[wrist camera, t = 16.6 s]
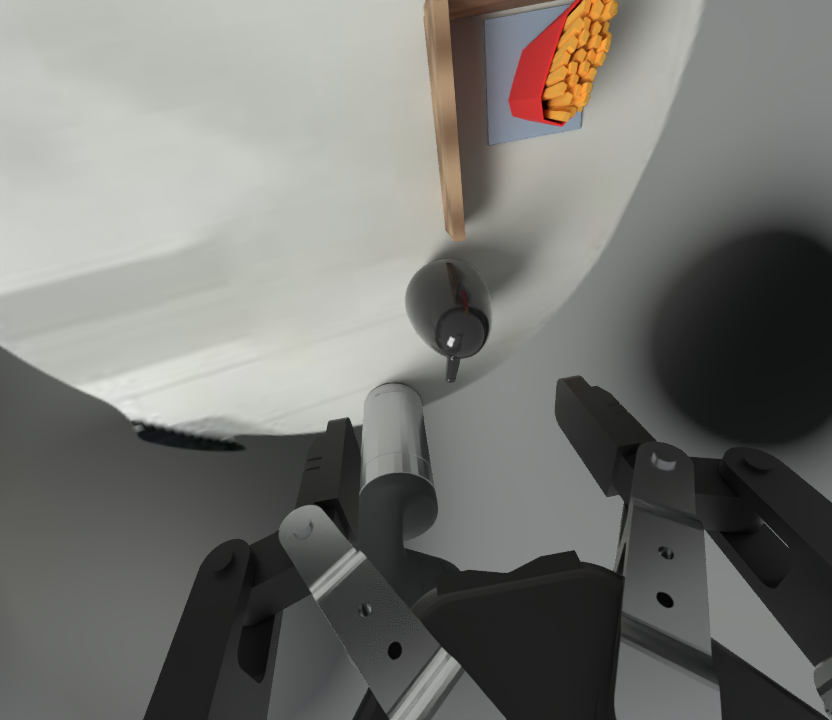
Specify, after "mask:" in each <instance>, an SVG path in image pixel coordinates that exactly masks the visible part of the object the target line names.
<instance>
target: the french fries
mask: <svg viewBox="0 0 832 720" xmlns="http://www.w3.org/2000/svg"><path fill="white" fill-rule="evenodd" d="M617 9H618V3H617V2H616V1H615V0H575V1H574V2H573V3H572V4H571V5H570V6H569V7H568V8H567V9H566V10H565V11H564V12H563V13H562V14H560V15H559V16H558V17H557V18H556V19H555V20H554V21H553V22H552V23H551V24H550V25H549V26H548V27H547V28H546V29H545V30H543V31H542V32H541V33H540V34H539V35H538V36H537V37H536V38H535V39H534V40H533V41H532V42H531V43H530V44H529V45H528V46H527V47H526V48H524V49H523V50H522V53H521V56H520V59H519V63H518V66H517V69H516V73H515V76H514V80H513V83H512V87H511V91H510V95H509V99H508V102H509V106H510V110H511V113H512V116H514V117H517V118H521V119H524V120H528V121H533V122H538V123H543V124H549V125H554V126H560V127H562V126H563V125H564V124H565V123H566V122H568V120H569V119H570V118H571V117H574V116H575V113H576V112H582V109H583V106H585V105H587V103H588V101H589V98H590V95H589V94H590V92H591V90H592V88H593V85H592V82H593V81H594V77H595V75H596V73H597V71H596V70H597V67H599V66H602V65H603V63H604V60H605V58H606V53H607V52H608V51H609V48H610V44H611V38H612V34H611V33H610V32H608V30H609V25H610V23H609V20H610V19H612V18H613V17H614V16H615V15H616V14H617Z"/></svg>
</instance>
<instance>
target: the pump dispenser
mask: <svg viewBox="0 0 832 720" xmlns="http://www.w3.org/2000/svg"><path fill="white" fill-rule="evenodd" d="M405 307H406V312H407V315H408V318H409V320H410V322H411V324H412V326H413V328H414V330H415V331H416V333H417V334H418V335H419V337H420V338H421V339H422V340H423V341H424V342H425V343H426V344H427V345H428V346H429V347H430V348H431V349H433V350H434V351H435V352H437V353H439V354H441V355H443V356H445V357H447V364H446V376H445V380H446V381H447V382H450V383H453V382H455V379H456V375H457V371H458V367H459V363H460V359H464V358H468V357H471V356H474V355H475V354H477V353H478V352H479V351H480V350H481V349H482V348H483V347H484V345H485V344H486V342H487V340H488V338H489V335H490V332H491V327H492V304H491V298H490V294H489V291H488V288H487V285H486V283H485V281H484V279H483V277H482V276H481V275H480V273H479V272H478V271H477V270H476V269H475V268H474V267H473V266H471V265H470V264H468V263H466V262H464V261H461V260H457V259H441V260H437V261H434V262H431V263H429V264H427V265H425V266H424V267H422V268H421V269H420V270H419V271H418V272H417V273H416V274H415V275H414V276H413V278H412V279H411V281H410V283H409V285H408V287H407V290H406V295H405Z"/></svg>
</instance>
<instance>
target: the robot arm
mask: <svg viewBox="0 0 832 720" xmlns="http://www.w3.org/2000/svg"><path fill="white" fill-rule="evenodd" d="M555 416H556V420H557V422H558V425H559V426H560V428H561V429H562V431H563V432H564V434H565V435H566V437H567V438H568V440H569V441H570V443H571V444H572V446H573V447H574V449H575V450H576V452H577V453H578V455H579V456H580V458H581V459H582V461H583V462H584V464H585V465H586V467H587V468H588V470H589V471H590V473H591V474H592V476H593V477H594V479H595V480H596V482H597V483H598V485H599V486H600V488H601V489H602V491H603V492H604V494H605V495H606V497H610V496H615V495H620V496H621V498H622V499H623V501H624V503H623V507H622V515H621V522H620V529H619V537H618V544H617V551H616V558H615V563H614V568H613V571H611V570H609V569H607V568H604V567H602V566H599V565H595V564H592V563H587V562H580V560H579V558H578V556H577V554H576V552H575V551H574V550H573V551H567V552H562V553H557V554H552V555H546V556H541V557H539V558H537V559H535V560H533V561H531V562H529V563H527V564H525V565H523V566H521V567H519V568H517V569H515V570H514V571H511V572H509V573H499V572H487V571H476V570H466V571H460V570H459V569H458V568H457V567H456V566H455V565H454V564H452V563H450V562H448V561H446V560H444V559H441V558H438V557H434V556H431V555H427V554H424V553H420V552H417V551H413V550H410V549H406V548H404V545H403V541H406V540H410V539H413V538H416V537H418V536H420V535H421V534H423V533H424V532H426V531H427V530H428V529H429V528H430V527H431V526H432V525H433V524H434V522H435V520H436V518H437V514H438V505H437V498H436V492H435V485H434V479H433V473H432V467H431V461H430V455H429V449H428V442H427V436H426V429H425V423H424V416H423V410H422V404H421V399H420V397H419V395H418V394H417V393H416V391H414V390H413V389H412V388H410V387H408V386H406V385H403V384H396V383H392V384H385V385H381V386H379V387H377V388H375V389H374V390H373V391H371V392H370V394H369V395H368V396H367V398H366V400H365V404H364V418H363V434H362V449H361V454H360V448H359V445H358V442H357V439H356V436H355V433H354V430H353V427H352V424H351V421H350V419H349V418H348V417H347V418H342V419H336V420H331V421H329V422H328V425H327V430H326V435H325V436H320V437H316V439H315V440H314V442H313V443H312V444H311V446H310V448H309V450H308V455H307V459H306V461H307V462H306V463H305V467H304V472H303V476H302V481H301V485H300V490H299V494H298V498H297V503H296V507H295V510H294V511H293V512H291V513H290V514H289V515H288V516H287V517H286V518H285V520H284V521H283V522H282V524H281V527H280V529H279V530H278V531H277V532H275V533H274V534H272V535H270V536H268V537H266V538H264V539H261V540H260V541H258V542H255V543H253V544H251V545H248V543H247V542H245V541H244V540H241V539H233V540H229V541H226V542H224V543H222V544H220V545H219V546H217V547H216V548H215V549H214V550H212V551H211V552H210V554H208V556H207V557H206V558H205V559H204V561H203V562H202V564H201V566H200V568H199V571H198V573H197V576H196V579H195V581H194V584H193V587H192V589H191V593H190V595H189V598H188V600H187V603H186V606H185V609H184V611H183V614H182V616H181V619H180V622H179V625H178V627H177V630H176V633H175V635H174V638H173V641H172V643H171V646H170V649H169V651H168V654H167V657H166V660H165V662H164V665H163V668H162V670H161V673H160V676H159V679H158V681H157V684H156V687H155V689H154V692H153V695H152V697H151V700H150V703H149V705H148V708H147V711H146V714H145V716H144V719H143V720H267V713H268V707H269V701H270V694H271V687H272V680H273V674H274V667H275V661H276V654H277V647H278V641H279V634H280V628H281V622H282V615H283V609H285V608H287V607H288V606H290V605H292V604H294V603H296V602H297V601H299V600H301V599H303V598H305V597H306V596H308V595H310V594H312V595H313V597H314V598H315V600H316V602H317V603H318V605H319V606H320V608H321V610H322V611H323V613H324V614H325V616H326V618H327V619H328V621H329V623H330V624H331V626H332V628H333V629H334V630H335V632H336V634H337V635H338V637H339V639H340V640H341V642H342V644H343V645H344V647H345V651H346V654H347V657H348V659H349V660H350V662H351V663H352V664H353V665H354V666H355V667H356V668H358V670H359V671H360V673H361V674H362V676H363V677H364V679H365V681H366V683H367V684H368V686H369V687H368V689H367V691H366V693H365V695H364V697H363V699H362V701H361V703H360V705H359V707H358V709H357V711H356V713H355V715H354V717H353V719H352V720H829V719H828V718H826V717H825V716H824V715H822V714H821V713H819V712H818V711H816V710H815V709H814V708H812V707H811V706H809V705H808V704H806V703H805V702H804V701H802V700H801V699H799V698H798V697H796V696H795V695H794V694H792V693H791V692H789V691H787V690H786V689H785V688H783V687H782V686H780V685H779V684H778V683H776V682H775V681H773V680H772V679H770V678H769V677H768V676H766V675H765V674H763V673H762V672H760V671H759V670H757V669H756V668H755V667H753V666H752V665H750V664H749V663H747V662H746V661H744V660H743V659H742V658H740V657H738V656H737V655H736V654H734V653H733V652H731V651H730V650H729V649H727V648H726V647H724V646H723V645H721V644H720V643H718V642H717V641H716V640H714V639H713V638H711V636H710V620H709V603H708V587H707V571H706V554H705V538H704V530H706V531H707V533H708V534H709V535H710V536H711V538H712V539H713V540H714V542H715V543H716V544H717V545H718V547H719V548H720V549H721V550H722V552H723V553H724V554H725V555H726V557H727V558H728V559H729V560H730V562H731V563H732V564H733V565H734V567H735V568H736V569H737V570H738V572H739V573H740V574H741V575H742V577H743V578H744V579H745V580H746V582H747V583H748V584H749V585H750V587H751V588H752V589H753V591H754V592H755V593H756V594H757V595H758V597H759V598H760V599H761V601H762V602H763V603H764V604H765V605H766V607H767V608H768V609H769V611H770V612H771V613H772V614H773V616H774V617H775V618H776V619H777V621H778V622H779V623H780V624H781V626H782V627H783V628H784V629H785V631H786V632H787V633H788V634H789V636H790V637H791V638H792V639H793V641H794V642H795V643H796V644H797V645H798V647H799V648H800V649H801V651H802V652H803V653H804V654H805V655H806V657H807V658H808V659H809V660H810V662H811V663H812V664H813V666H814V667H815V669H814V673H813V678H814V683H815V686H816V689H817V691H818V693H819V695H820V697H821V699H822V700H823V702H824V704H823V705H824V709H825V711H826V713H827V715H828V716H829V717H830V719H831V720H832V503H831V502H830V501H829V500H828V499H826V498H825V497H824V496H823V495H822V494H820V493H819V492H818V491H817V490H816V489H814V488H813V487H812V486H811V485H809V484H808V483H807V482H806V481H805V480H803V479H802V478H801V477H800V476H799V475H797V474H796V473H795V472H793V471H792V470H791V469H790V468H789V467H788V466H786V465H785V464H784V463H783V462H781V461H780V460H779V459H777V458H775V457H774V456H772V455H770V454H768V453H766V452H764V451H761V450H758V449H754V448H749V447H733V448H730V449H728V450H727V451H726V452H725V453H724V456H723V458H722V459H713V458H712V459H711V458H699V457H689V456H688V455H687V454H686V453H685V452H684V451H683V450H681V449H679V448H678V447H676V446H673V445H671V444H668V443H664V442H658V441H656V440H655V439H654V438H653V437H652V436H651V435H650V434H649V433H648V432H647V430H646V429H645V428H644V427H642V425H641V424H640V423H639V422H638V421H637V420H636V419H635V418H634V417H633V416H632V415H631V414H630V413H629V412H627V410H626V409H625V408H624V407H623V406H622V405H620V404H619V402H618V401H617V400H616V399H615V398H614V397H613V396H612V394H610V393H609V392H607V391H605V390H603V389H602V388H600V387H598V386H594V387H591V386H590V385H589V384H588V383H587V382H586V381H585V380H584V379H583V378H582V377H581V376H572V377H567V378H561V379H559V380H558V381H557V387H556V401H555ZM764 522H765V523H766V524H767V525H768V526H769V527H770V528H771V529H772V530H773V531H774V532H775V533H776V534H777V535H778V536H779V537H780V538H781V539H782V540H783V541H784V542H785V543H786V544H787V545H788V547H789V548H790V549H789V548H788V547H787V546H786V545H785V544H784V543H783V542H782V541H781V540H780V539H779V538H778V537H777V536H776V535H775V534H774V533H773V532H772V530H771V529H769V527H768V526H767V525H766V524H765V523H764ZM351 544H352V545H351Z"/></svg>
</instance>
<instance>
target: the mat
mask: <svg viewBox="0 0 832 720" xmlns="http://www.w3.org/2000/svg"><path fill="white" fill-rule="evenodd" d="M570 5H571V4H569V5H563V6H558V7H553V8H547V9H542V10H536V11H531V12H526V13H520V14H515V15H510V16H504V17H499V18H494V19H488V20H484V37H485V65H486V94H487V123H488V145H494V144H499V143H505V142H510V141H516V140H521V139H527V138H532V137H537V136H543V135H548V134H554V133H559V132H565V131H570V130H576V129H580V124H581V112H576V113H575V116H574V117H571V118H570V119H569V120H568V122H566V123H565V124H564V125H563V126H562V127H560V126H554V125H549V124H543V123H538V122H533V121H528V120H524V119H521V118H517V117H514V116H512V113H511V110H510V106H509V102H508V99H509V95H510V91H511V87H512V83H513V80H514V76H515V73H516V69H517V66H518V63H519V59H520V56H521V53H522V50H523V49H524V48H526V47H527V46H528V45H529V44H530V43H531V42H532V41H533V40H534V39H535V38H536V37H537V36H538V35H539V34H540V33H541V32H542V31H543V30H545V29H546V28H547V27H548V26H549V25H550V24H551V23H552V22H553V21H554V20H555V19H556V18H557V17H558V16H559V15H560V14H562V13H563V12H564V11H565V10H566V9H567V8H568V7H569V6H570Z"/></svg>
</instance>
